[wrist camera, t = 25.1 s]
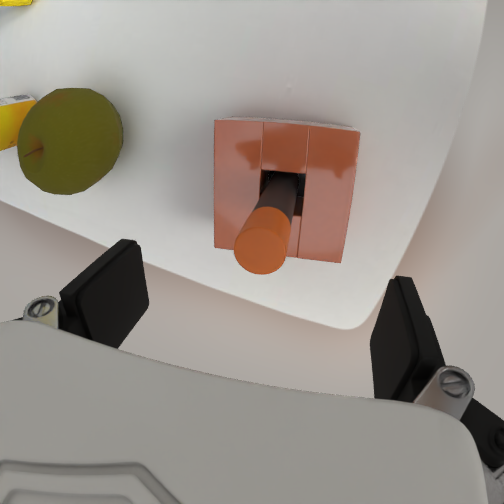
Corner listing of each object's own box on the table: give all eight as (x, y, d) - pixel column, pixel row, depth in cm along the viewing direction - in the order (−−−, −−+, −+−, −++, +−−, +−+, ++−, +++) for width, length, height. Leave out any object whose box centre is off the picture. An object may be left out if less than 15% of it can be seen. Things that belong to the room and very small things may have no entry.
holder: (351, 126, 24) (360, 132, 19) (337, 237, 28) (340, 263, 24) (231, 116, 25) (214, 119, 21) (229, 224, 30) (214, 247, 26)
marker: (301, 167, 26) (288, 230, 14) (298, 194, 27) (283, 278, 15) (272, 164, 27) (233, 224, 14) (270, 192, 28) (232, 271, 15)
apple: (159, 138, 27) (85, 163, 18) (101, 194, 31) (31, 236, 22) (106, 66, 24) (24, 66, 15) (56, 128, 28) (-18, 151, 19)
